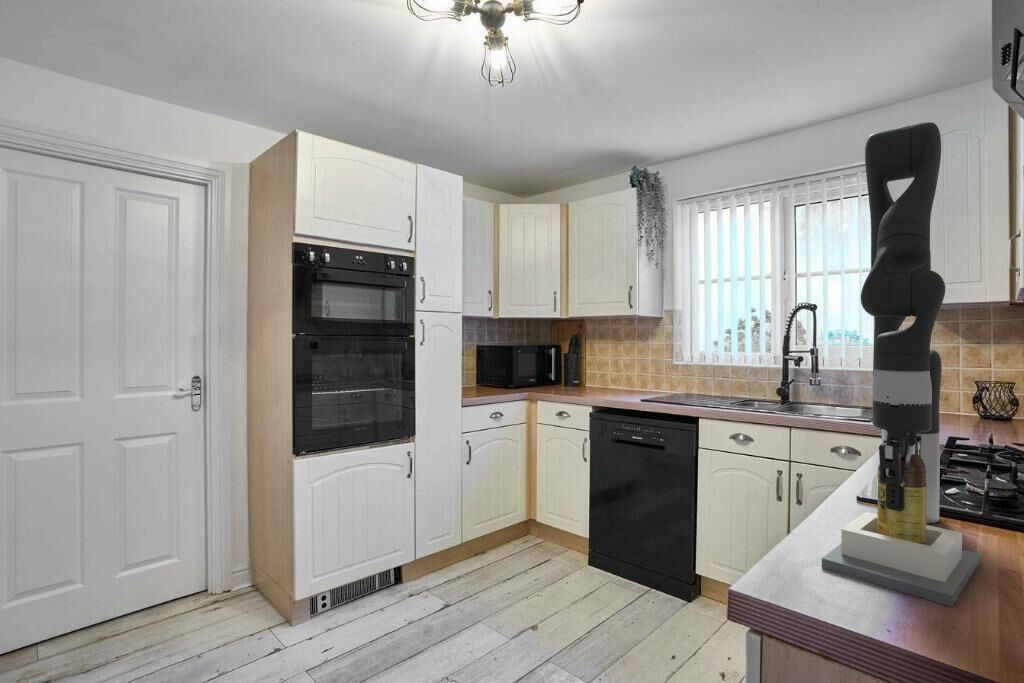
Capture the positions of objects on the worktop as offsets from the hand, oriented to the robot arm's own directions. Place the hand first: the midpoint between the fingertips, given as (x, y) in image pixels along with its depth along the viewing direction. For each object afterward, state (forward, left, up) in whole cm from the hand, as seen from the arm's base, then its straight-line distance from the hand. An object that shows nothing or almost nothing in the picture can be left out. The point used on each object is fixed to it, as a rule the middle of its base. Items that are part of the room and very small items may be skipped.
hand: (901, 504), depth 84 cm
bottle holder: (0, 0, -10) cm, 10 cm away
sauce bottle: (0, 0, -7) cm, 7 cm away
